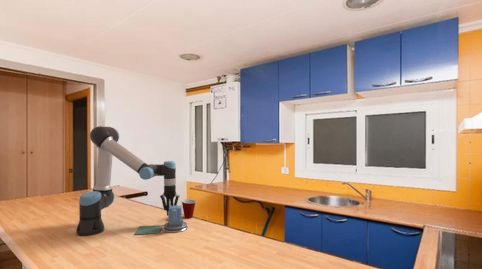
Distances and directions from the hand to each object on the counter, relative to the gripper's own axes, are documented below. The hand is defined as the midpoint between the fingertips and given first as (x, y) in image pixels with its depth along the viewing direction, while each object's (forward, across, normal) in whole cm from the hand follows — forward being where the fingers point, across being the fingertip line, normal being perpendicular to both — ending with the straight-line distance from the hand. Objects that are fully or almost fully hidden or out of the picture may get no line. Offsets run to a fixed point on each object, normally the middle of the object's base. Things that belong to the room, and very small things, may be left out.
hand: (170, 220), depth 182 cm
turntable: (+1, +6, -5) cm, 8 cm away
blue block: (0, +7, -9) cm, 11 cm away
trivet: (+3, -8, -13) cm, 16 cm away
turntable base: (+3, +7, -8) cm, 11 cm away
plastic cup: (+3, +7, +17) cm, 19 cm away
